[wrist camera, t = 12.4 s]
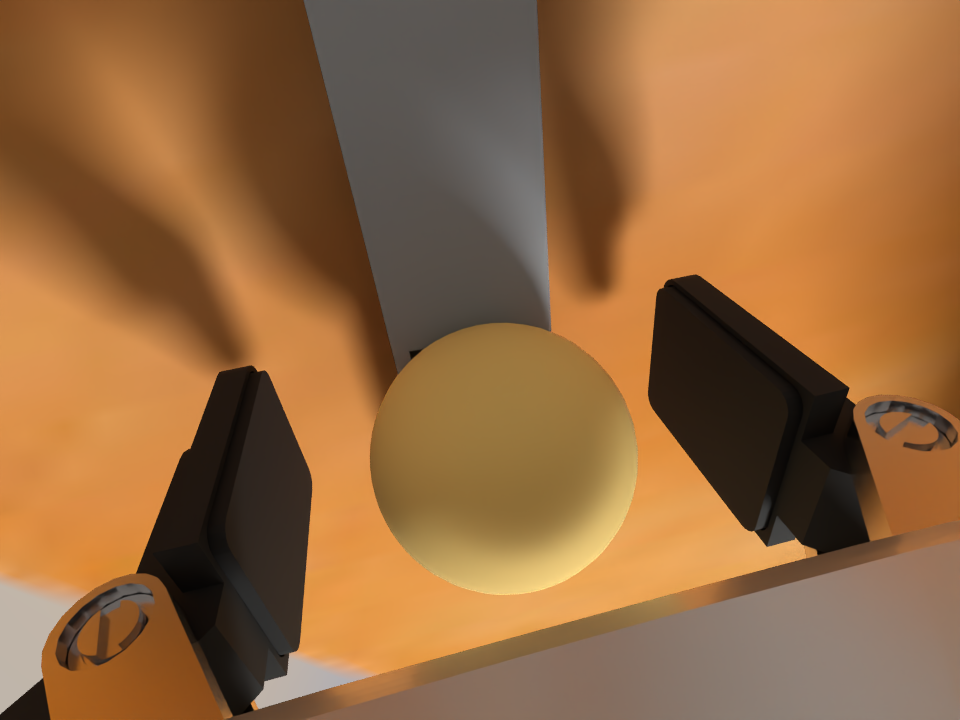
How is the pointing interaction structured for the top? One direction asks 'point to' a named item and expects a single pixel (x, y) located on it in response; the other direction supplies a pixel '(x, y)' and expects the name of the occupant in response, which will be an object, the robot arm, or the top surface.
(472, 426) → the ball ochre
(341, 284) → the top surface
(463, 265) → the holder
